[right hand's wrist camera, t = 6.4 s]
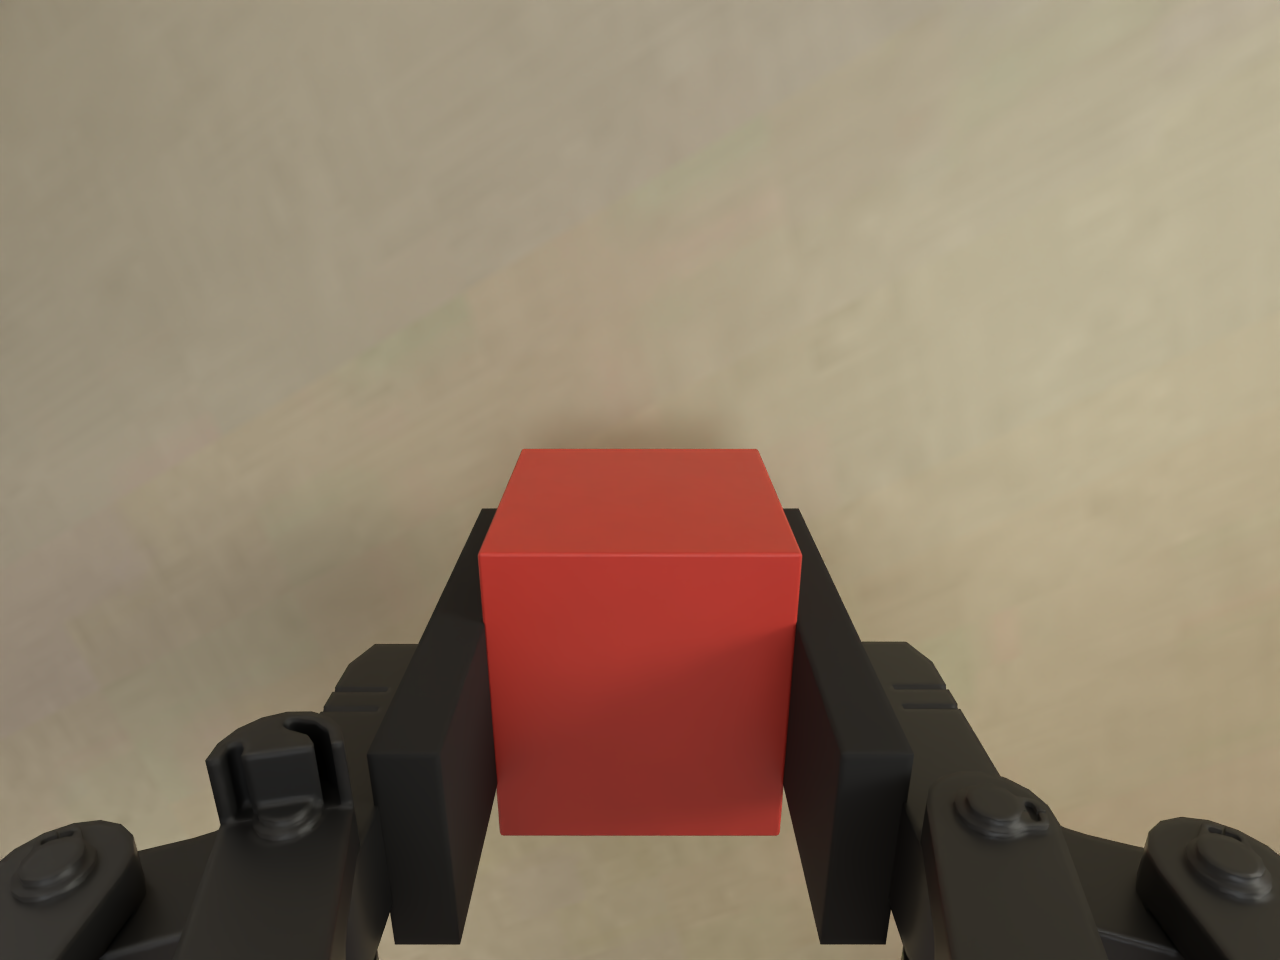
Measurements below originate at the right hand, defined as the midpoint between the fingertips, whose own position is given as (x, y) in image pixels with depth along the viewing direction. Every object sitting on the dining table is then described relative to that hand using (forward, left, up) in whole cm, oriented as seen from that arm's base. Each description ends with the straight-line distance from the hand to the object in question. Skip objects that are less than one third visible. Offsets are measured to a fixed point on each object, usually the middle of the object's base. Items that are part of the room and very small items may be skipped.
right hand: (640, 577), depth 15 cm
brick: (0, 0, 0) cm, 0 cm away
